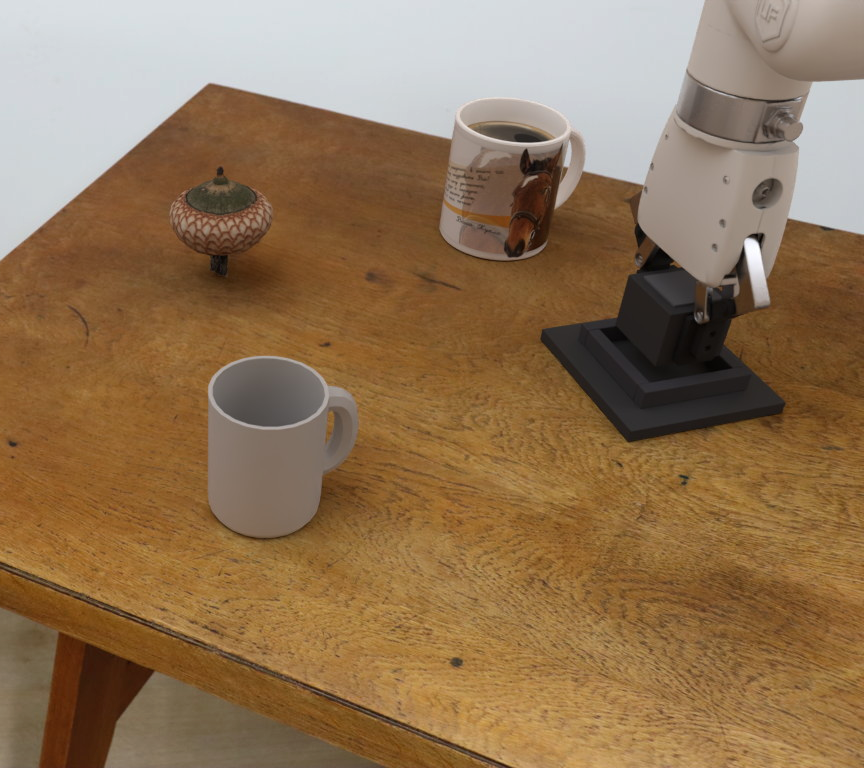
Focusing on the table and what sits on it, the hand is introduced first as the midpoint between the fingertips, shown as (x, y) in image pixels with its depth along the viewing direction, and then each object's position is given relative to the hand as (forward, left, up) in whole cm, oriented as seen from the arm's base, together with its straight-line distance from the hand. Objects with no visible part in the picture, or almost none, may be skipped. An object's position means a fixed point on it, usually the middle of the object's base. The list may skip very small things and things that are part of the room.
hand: (668, 334), depth 82 cm
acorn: (+21, +29, -4) cm, 36 cm away
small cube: (0, 0, 0) cm, 0 cm away
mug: (+22, +2, -4) cm, 23 cm away
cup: (-6, +32, -4) cm, 32 cm away
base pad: (0, 0, -4) cm, 4 cm away
